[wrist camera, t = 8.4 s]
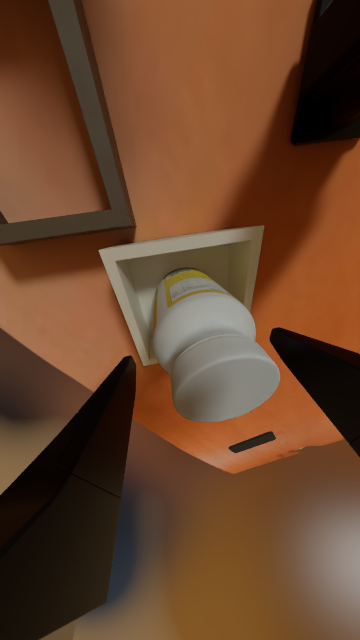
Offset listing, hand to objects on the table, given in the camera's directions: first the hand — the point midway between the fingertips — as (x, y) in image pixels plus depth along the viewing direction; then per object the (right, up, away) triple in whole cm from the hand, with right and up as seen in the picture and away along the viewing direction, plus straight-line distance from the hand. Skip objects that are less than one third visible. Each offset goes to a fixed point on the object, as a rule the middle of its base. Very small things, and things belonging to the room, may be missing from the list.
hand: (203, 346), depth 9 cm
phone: (+22, -39, +39) cm, 59 cm away
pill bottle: (-1, +4, +7) cm, 9 cm away
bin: (-1, +5, +8) cm, 9 cm away
